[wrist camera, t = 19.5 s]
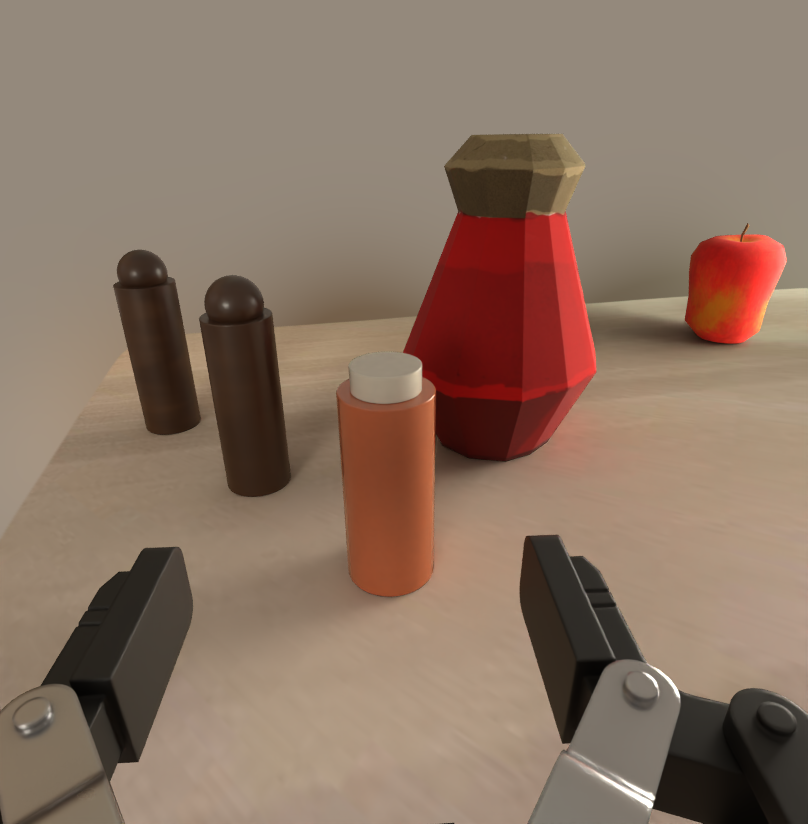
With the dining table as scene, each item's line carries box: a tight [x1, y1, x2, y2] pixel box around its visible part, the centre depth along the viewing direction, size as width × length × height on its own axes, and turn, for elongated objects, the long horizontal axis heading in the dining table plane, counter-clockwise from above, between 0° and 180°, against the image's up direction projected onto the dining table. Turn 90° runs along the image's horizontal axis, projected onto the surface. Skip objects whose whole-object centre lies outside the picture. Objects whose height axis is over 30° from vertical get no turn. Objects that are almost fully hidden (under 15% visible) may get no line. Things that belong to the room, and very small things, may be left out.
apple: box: [685, 223, 786, 344], centre depth 59 cm, size 9×8×12 cm
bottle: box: [403, 134, 596, 461], centre depth 39 cm, size 16×14×20 cm
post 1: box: [113, 250, 201, 434], centre depth 42 cm, size 4×4×13 cm
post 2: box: [199, 275, 291, 497], centre depth 34 cm, size 4×4×13 cm
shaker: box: [336, 352, 436, 597], centre depth 27 cm, size 4×4×11 cm
